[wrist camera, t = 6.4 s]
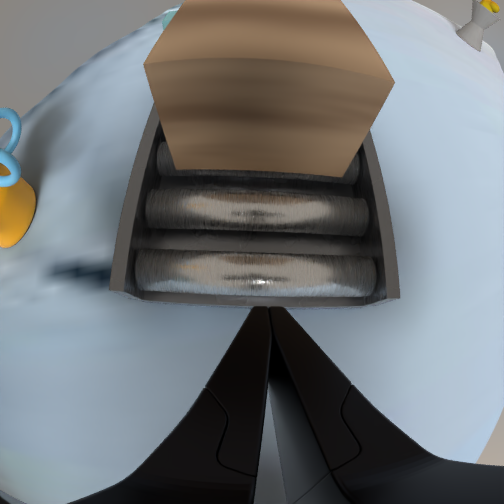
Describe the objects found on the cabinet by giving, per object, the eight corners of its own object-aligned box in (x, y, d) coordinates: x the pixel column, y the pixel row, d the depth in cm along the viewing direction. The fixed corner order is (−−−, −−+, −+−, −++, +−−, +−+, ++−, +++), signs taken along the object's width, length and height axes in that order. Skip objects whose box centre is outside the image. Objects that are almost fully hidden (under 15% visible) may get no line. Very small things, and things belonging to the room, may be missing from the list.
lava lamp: (457, 36, 36) (497, -45, 3) (453, 28, 39) (488, -46, 6) (483, 55, 35) (526, -22, 2) (477, 46, 38) (516, -25, 5)
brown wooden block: (342, 177, 14) (395, 82, 8) (176, 169, 14) (143, 64, 7) (319, 73, 17) (339, -1, 11) (201, 66, 17) (194, -11, 10)
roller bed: (368, 307, 16) (400, 298, 12) (136, 301, 15) (109, 290, 12) (338, 105, 21) (350, 74, 17) (177, 97, 20) (170, 64, 17)
